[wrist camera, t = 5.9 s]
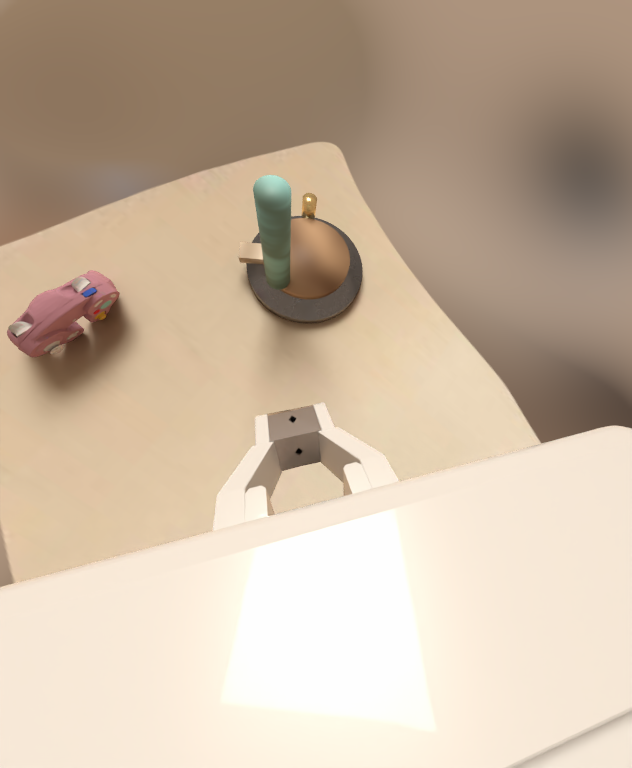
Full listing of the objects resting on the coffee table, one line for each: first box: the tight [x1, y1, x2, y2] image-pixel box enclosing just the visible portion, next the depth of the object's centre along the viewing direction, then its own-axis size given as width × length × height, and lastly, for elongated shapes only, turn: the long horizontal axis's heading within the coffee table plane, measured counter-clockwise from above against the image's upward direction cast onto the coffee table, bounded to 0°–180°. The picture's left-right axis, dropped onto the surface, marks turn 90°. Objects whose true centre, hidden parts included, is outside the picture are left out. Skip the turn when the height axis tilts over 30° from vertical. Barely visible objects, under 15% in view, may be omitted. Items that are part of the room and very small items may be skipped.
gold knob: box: [302, 193, 317, 219], centre depth 29 cm, size 2×2×3 cm
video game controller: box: [7, 270, 119, 357], centre depth 24 cm, size 10×5×7 cm, turn 139°
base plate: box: [247, 216, 362, 323], centre depth 29 cm, size 14×14×2 cm
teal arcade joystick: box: [239, 175, 350, 299], centre depth 23 cm, size 11×11×11 cm
